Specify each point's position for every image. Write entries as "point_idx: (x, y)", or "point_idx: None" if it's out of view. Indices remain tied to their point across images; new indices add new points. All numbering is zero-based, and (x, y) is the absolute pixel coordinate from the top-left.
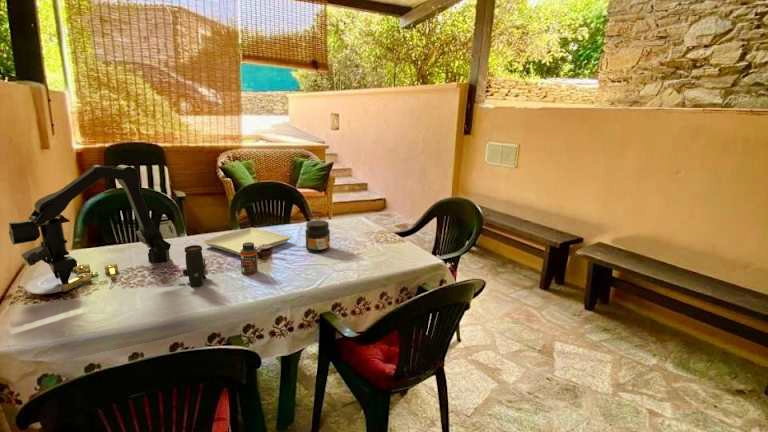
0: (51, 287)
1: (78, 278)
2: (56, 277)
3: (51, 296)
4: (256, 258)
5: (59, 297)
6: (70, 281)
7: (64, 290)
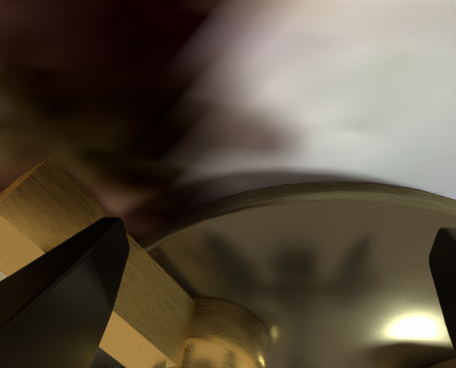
0: (438, 95)
1: (133, 366)
2: (449, 240)
3: (102, 27)
4: None
5: (21, 92)
6: None
7: (18, 179)
